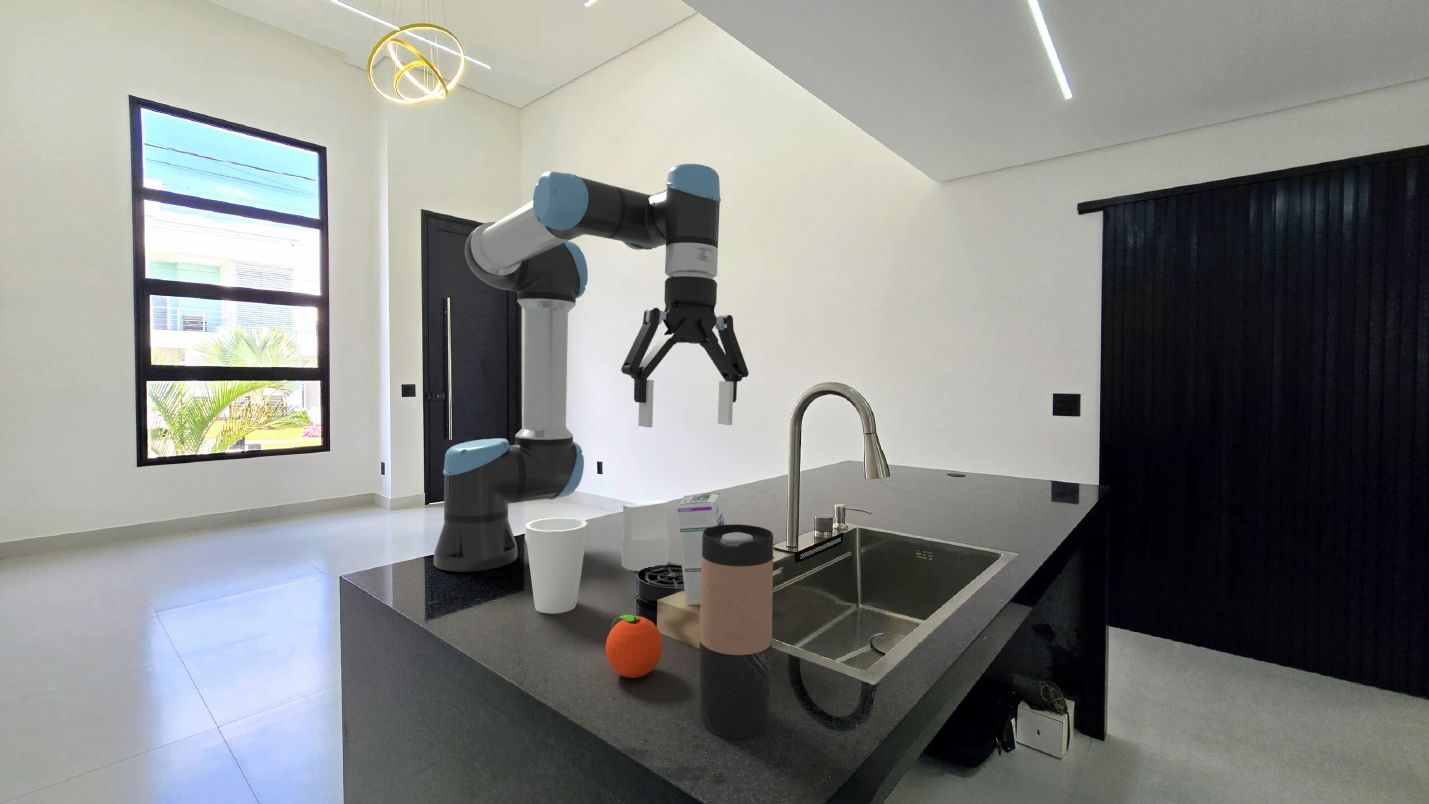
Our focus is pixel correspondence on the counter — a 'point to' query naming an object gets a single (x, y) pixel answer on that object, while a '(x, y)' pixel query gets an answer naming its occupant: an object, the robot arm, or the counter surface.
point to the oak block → (679, 619)
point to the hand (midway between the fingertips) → (686, 425)
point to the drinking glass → (645, 534)
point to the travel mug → (736, 629)
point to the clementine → (634, 646)
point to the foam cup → (556, 561)
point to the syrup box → (695, 537)
